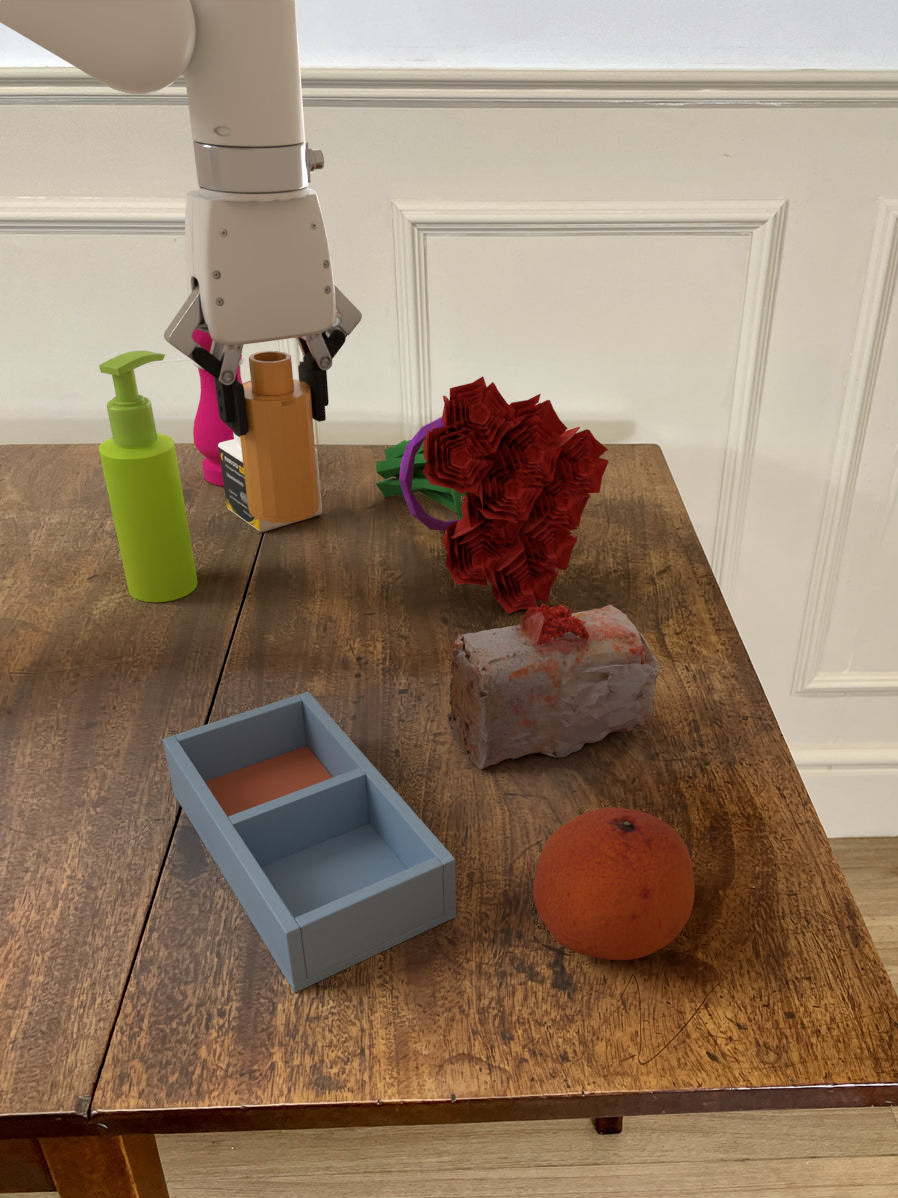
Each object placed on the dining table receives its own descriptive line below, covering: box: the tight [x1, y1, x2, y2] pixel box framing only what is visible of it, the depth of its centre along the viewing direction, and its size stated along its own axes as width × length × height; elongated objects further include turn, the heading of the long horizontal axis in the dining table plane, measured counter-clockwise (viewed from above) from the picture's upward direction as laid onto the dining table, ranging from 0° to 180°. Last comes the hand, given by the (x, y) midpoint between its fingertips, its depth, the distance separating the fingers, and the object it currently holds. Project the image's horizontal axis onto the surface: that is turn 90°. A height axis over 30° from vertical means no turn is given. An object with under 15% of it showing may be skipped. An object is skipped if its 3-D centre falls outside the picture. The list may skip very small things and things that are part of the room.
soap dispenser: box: [98, 350, 199, 603], centre depth 87 cm, size 6×7×20 cm
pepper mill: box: [192, 329, 245, 487], centre depth 107 cm, size 7×7×20 cm
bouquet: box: [375, 375, 609, 615], centre depth 97 cm, size 20×16×30 cm
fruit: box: [532, 806, 696, 961], centre depth 58 cm, size 9×9×8 cm
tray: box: [161, 691, 457, 993], centre depth 63 cm, size 10×19×5 cm, turn 34°
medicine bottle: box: [218, 431, 323, 533], centre depth 101 cm, size 7×7×12 cm
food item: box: [447, 603, 660, 770], centre depth 72 cm, size 14×8×10 cm, turn 115°
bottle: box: [240, 350, 319, 523], centre depth 83 cm, size 6×6×12 cm
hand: (275, 420), depth 82 cm, fingers closed on bottle, 5 cm apart
